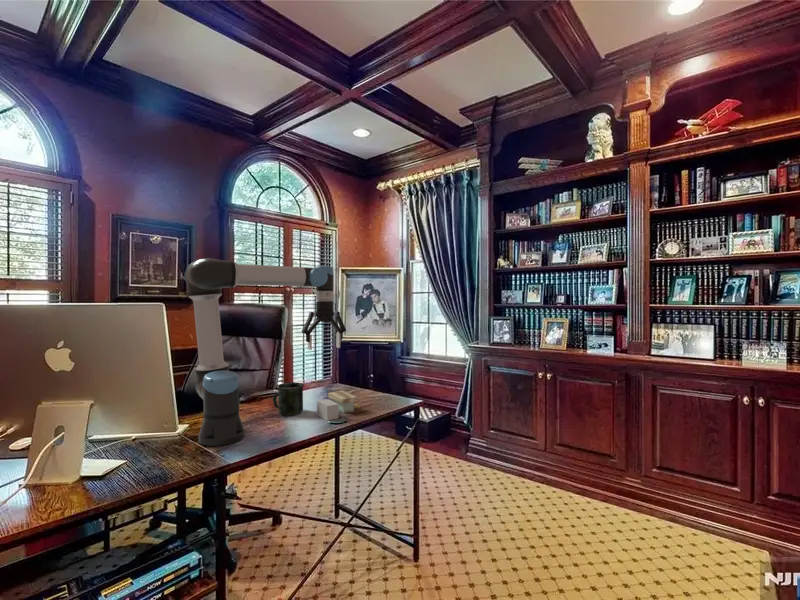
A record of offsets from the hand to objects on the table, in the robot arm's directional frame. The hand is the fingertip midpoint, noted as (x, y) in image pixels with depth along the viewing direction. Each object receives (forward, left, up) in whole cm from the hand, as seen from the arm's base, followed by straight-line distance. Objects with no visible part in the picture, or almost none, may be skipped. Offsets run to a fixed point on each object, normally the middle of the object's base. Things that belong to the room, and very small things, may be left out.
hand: (324, 348), depth 184 cm
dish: (+6, -4, -27) cm, 28 cm away
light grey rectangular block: (-4, -11, -27) cm, 29 cm away
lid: (+6, -4, -23) cm, 24 cm away
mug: (-16, +4, -27) cm, 32 cm away
